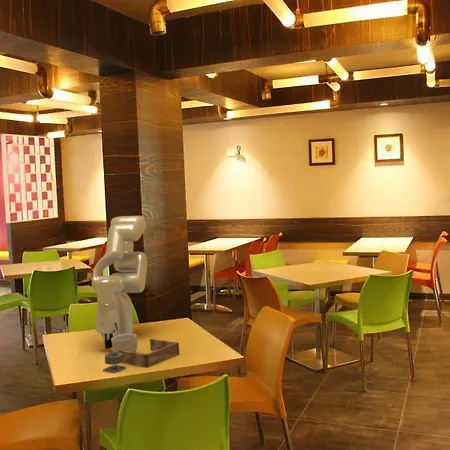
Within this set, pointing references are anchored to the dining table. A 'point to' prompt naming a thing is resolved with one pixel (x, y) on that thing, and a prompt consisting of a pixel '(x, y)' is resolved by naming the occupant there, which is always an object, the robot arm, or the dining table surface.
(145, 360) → the bay
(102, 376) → the dining table surface
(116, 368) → the axle mount
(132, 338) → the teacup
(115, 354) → the wheel
